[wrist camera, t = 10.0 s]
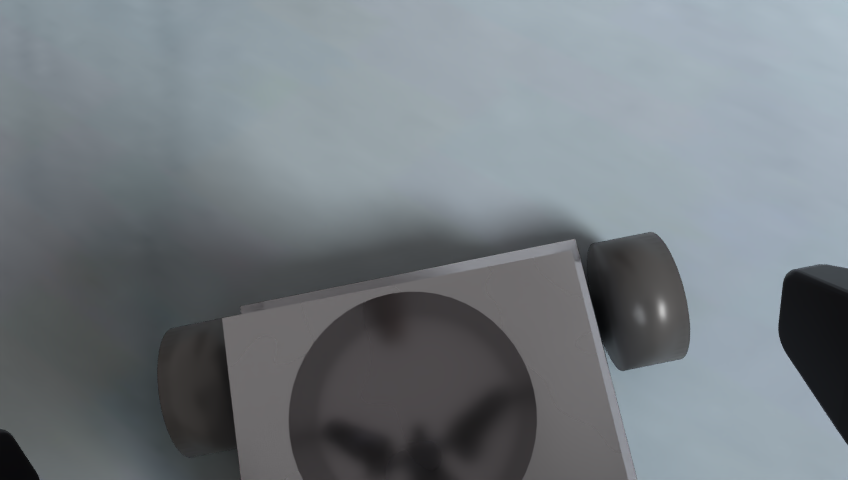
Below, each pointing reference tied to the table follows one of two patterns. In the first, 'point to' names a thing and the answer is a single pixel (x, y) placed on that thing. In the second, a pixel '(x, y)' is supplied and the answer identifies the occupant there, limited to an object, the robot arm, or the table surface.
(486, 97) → the table surface
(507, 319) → the block
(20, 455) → the robot arm
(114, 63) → the table surface
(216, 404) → the chassis
